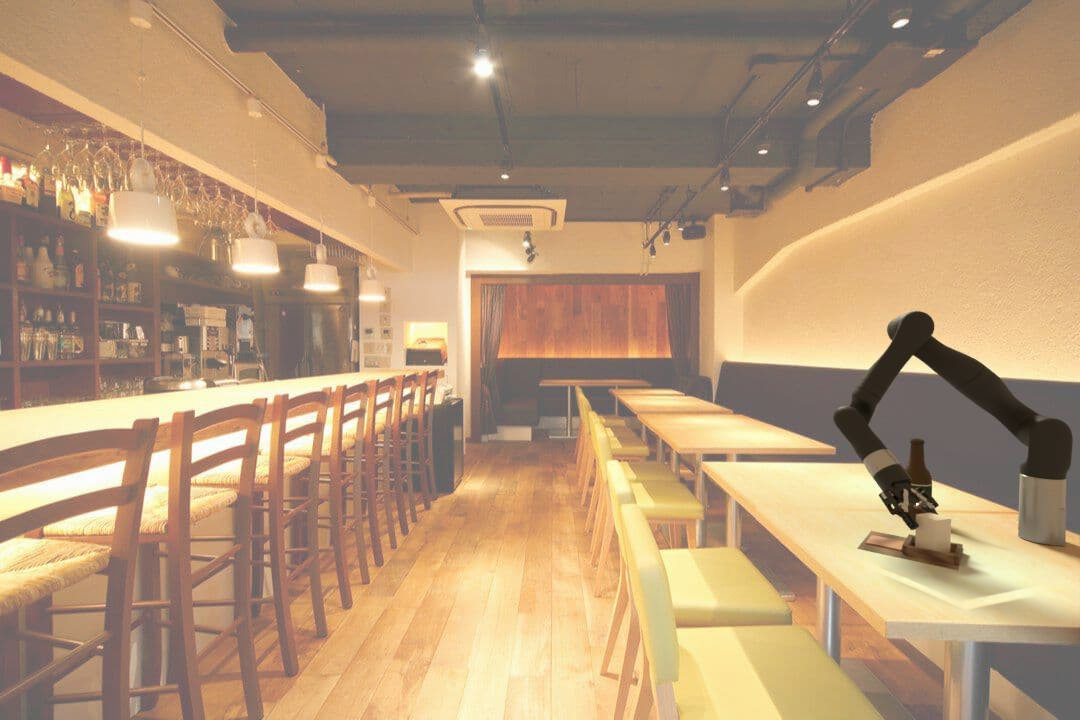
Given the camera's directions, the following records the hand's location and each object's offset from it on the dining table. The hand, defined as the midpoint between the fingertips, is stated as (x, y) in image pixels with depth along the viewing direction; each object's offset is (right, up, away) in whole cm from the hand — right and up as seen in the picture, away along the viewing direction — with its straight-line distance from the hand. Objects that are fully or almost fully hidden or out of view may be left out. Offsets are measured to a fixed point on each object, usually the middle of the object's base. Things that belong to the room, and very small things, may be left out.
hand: (928, 527), depth 134 cm
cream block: (0, -6, -1) cm, 6 cm away
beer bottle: (+18, -7, +31) cm, 37 cm away
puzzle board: (-3, -7, +2) cm, 8 cm away
